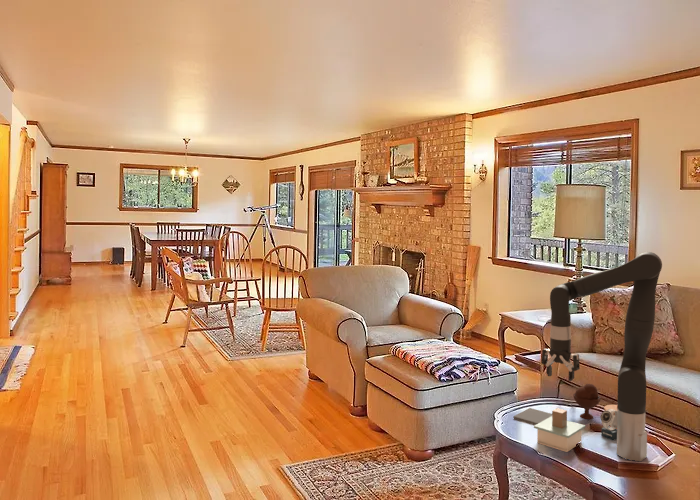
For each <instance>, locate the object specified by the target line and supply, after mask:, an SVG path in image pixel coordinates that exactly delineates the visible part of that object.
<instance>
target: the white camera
mask: <svg viewBox="0 0 700 500" xmlns="http://www.w3.org/2000/svg"><path fill="white" fill-rule="evenodd" d="M617 408H618V404H607V405H605V406H604V407H603V412H604V411H606V410H608V409H613V410H616V411H617ZM614 417H615V413H614V414H613V419H614ZM612 423H613V421H612V422H611V423H610V426H612ZM616 428H617V427H616Z"/></svg>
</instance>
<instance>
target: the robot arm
mask: <svg viewBox="0 0 700 500" xmlns="http://www.w3.org/2000/svg"><path fill="white" fill-rule="evenodd" d="M662 267H663V262H662V259H661V258H660V256H659V255H658V254H656V253H654V252H652V251H644V252H641V253H639V254H638V255H636V256H635V258H633V259H632V260H630V261H628V262H625V263H624V264H622V265H619V266H616V267H613V268H610V269H609V268H608V269H607V270H602V271H598V272H594V273H592V274H591V273H590V274H588V275H585V276H582V277H579V278H578V279H575V280H571V281H567V282H564V283H561V284H558V285H556V286H555V287H553V288H552V289H551V291H550V294H549V302H550V303H549V304H550V311H551V316H550V330H549V331H550V332H549V335H550V336H549V337H550V339H549V341H550V342H549V349H548V348H543V349H542V351H541V364H542V365H544V366H545V367H546V369H545V370H546V375H547V376H548V377H551V376H553V366H552V365H553V364H554V363H559V364H561V365H564V366H565V367H566V369H568V381H569V382H571V381H573V380H574V379H575V372H577V371H579V370H580V369H581V367H580V366H581V365H580V354H578V353H575V354H573V353H572V351H571V349H572V329H571V327H572V326H571V322H572V321H571V316H572V315H571V311H570V301H572V300H575V299H579V298H581V297H587V296H591V295H593V294H596V293H597V294H598V293H600V292H603V291H605V290H608V289H610V288H613V287H616V286H620V285H623V284H627V283H631V282H633V288H632V292H631V296H630V299H629V302H628V305H627V309H626V310H627V311H626V316H625V322H624V330H623V331H624V332H623V333H624V334H623V335H624V337H623V341H624V343H623V344H624V351H623V356H622V360H621V365H620V368H619V371H618V375H617V400H616V401H617V404H616V405H618V408H617V440H616V455H617V454H618V455H619V456H621V457H623V458H622V459H624V458H626V459H625V460H627V459H630V460H629V461H632V460H635V461H636V462H640V461H641V462H642V461H644V460H645V458H646V457H647V455H648V454H647V453H648V449H647V448H648V432H647V430H646V407H647V376H646V362H647V361H646V360H647V353H648V349H649V346H650V343H651V340H652V336H653V333H654V332H653V331H654V326H655V320H656V319H655V318H656V291H657V286H658V281H659V276H660V273H661V271H662ZM548 355H550V357H551V358H549V356H548ZM548 359H549V360H548ZM572 361H573V362H572ZM618 455H617V456H618ZM619 456H618V457H619ZM621 457H620V458H621ZM635 461H634V462H635Z"/></svg>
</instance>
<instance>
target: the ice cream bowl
mask: <svg viewBox="0 0 700 500" xmlns="http://www.w3.org/2000/svg"><path fill="white" fill-rule="evenodd" d="M601 397H602V396H600V395H599V394H598V389H597V387H596V386H595V385H594V384H593V383H585V385H583V386H579V387H578V388H577V389H576V390H575V393H573V399H574V401H575V402H576V404H577V405H578V406H580V407H581V408H583V410H584V412H583V413H582V414H580V415H579V418H580V419H583V420H588V421H589V420H593V419H594V416H593V415H592V414H591V413H590V409H593V408H596V406H597V405H599V403H600V402H601V399H602V398H601Z"/></svg>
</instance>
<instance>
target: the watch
mask: <svg viewBox="0 0 700 500" xmlns="http://www.w3.org/2000/svg"><path fill="white" fill-rule="evenodd" d="M614 413H615V417H614V419H613V414H614ZM600 421H601V422H600V423H601V424H602V426H603V427H601V429H600V432H601V437H604V438H607V439H609V440H611V441H617V429H616V427H617V411H616V410H613V409H608V410H606V411H604V410H603V412H602V413H601V414H600ZM612 421H613V423H612V426H611V427H610V426H609V425H610V423H611V422H612Z"/></svg>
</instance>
